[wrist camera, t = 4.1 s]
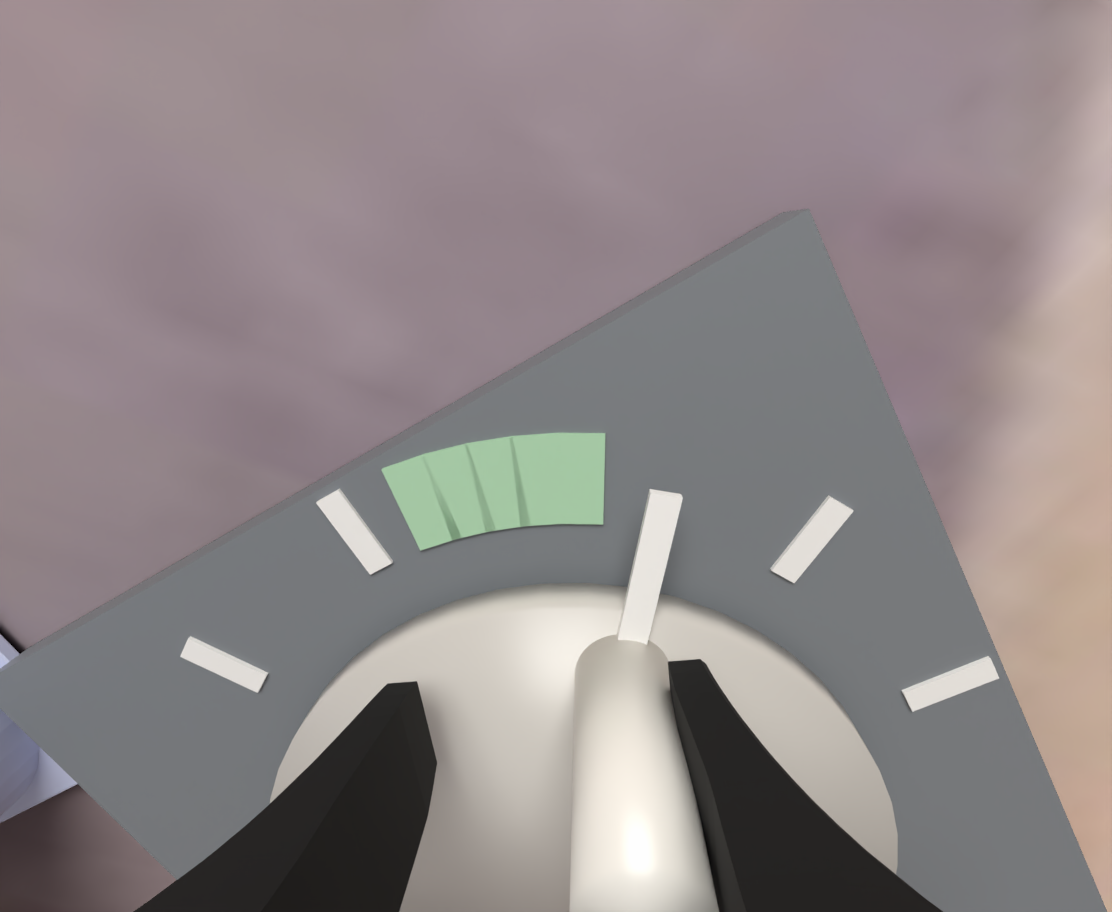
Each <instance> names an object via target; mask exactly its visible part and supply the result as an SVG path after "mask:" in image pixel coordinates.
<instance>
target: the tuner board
mask: <svg viewBox="0 0 1112 912" xmlns="http://www.w3.org/2000/svg"><path fill="white" fill-rule="evenodd" d="M649 489H653V490H659V491H666V492H672V493H678V494H681V495H682V497H683V500H682V504H681V508H680V512H679V516H678V520H677V524H676V528H675V532H674V536H673V541H672V545H671V549H670V553H669V557H668V561H667V565H666V569H665V573H664V577H663V582H662V586H661V590H660V594H665V595H670V596H674V597H678V598H681V599H684V600H687V601H690V602H693V603H695V604H698V605H701V606H704V607H707V608H710V609H713V610H716V611H718V612H721V613H723V614H725V615H727V616H729V617H731V618H733V619H735V620H737V621H739V622H741V623H743V624H745V625H747V626H749V627H751V628H753V629H755V630H757V631H759V632H760V633H762V634H763V635H765V636H766V637H768V638H769V639H771V640H772V641H774V642H775V643H777V644H778V645H780V646H781V647H783V648H784V649H786V650H787V651H789V652H790V653H791V654H792V655H794V656H795V657H796V658H797V659H798V660H799V661H800V662H802V663H803V664H804V665H805V666H806V667H807V668H808V669H809V670H811V671H812V672H813V673H814V674H815V675H816V676H817V677H818V678H820V680H821V681H822V682H823V683H824V684H825V686H826V687H827V688H828V689H829V690H830V692H831V693H832V694H833V695H834V696H835V698H836V699H837V700H838V701H839V702H840V704H841V705H842V706H843V707H844V709H845V711H846V713H847V714H848V716H849V718H850V719H851V721H852V723H853V724H854V726H855V728H856V729H857V731H858V733H859V734H860V736H861V738H862V740H863V741H864V743H865V745H866V747H867V749H868V750H869V752H870V754H871V756H872V758H873V760H874V761H875V763H876V765H877V767H878V769H879V770H880V773H881V775H882V778H883V781H884V783H885V786H886V789H887V791H888V794H889V796H890V799H891V802H892V806H893V812H894V817H895V823H896V828H897V833H898V866H897V871H896V875H897V876H898V877H900V878H901V879H902V880H903V881H905V882H906V883H907V884H908V885H909V886H911V887H912V888H913V889H914V890H916V891H917V892H918V893H919V894H920V895H922V896H923V897H924V898H926V899H927V900H928V901H930V902H931V903H932V904H934V905H935V906H936V907H938V908H939V909H940V910H942V911H943V912H1107V910H1106V908H1105V905H1104V903H1103V901H1102V898H1101V896H1100V894H1099V891H1098V889H1097V887H1096V884H1095V882H1094V879H1093V877H1092V875H1091V872H1090V870H1089V868H1088V865H1087V863H1086V861H1085V858H1084V856H1083V854H1082V851H1081V849H1080V846H1079V844H1078V842H1077V839H1076V837H1075V835H1074V832H1073V830H1072V828H1071V825H1070V823H1069V821H1068V818H1067V816H1066V813H1065V811H1064V809H1063V806H1062V804H1061V802H1060V799H1059V797H1058V795H1057V792H1056V790H1055V788H1054V785H1053V783H1052V780H1051V778H1050V776H1049V773H1048V771H1047V769H1046V766H1045V764H1044V762H1043V759H1042V757H1041V755H1040V752H1039V750H1038V747H1037V745H1036V743H1035V740H1034V738H1033V736H1032V733H1031V731H1030V729H1029V726H1028V724H1027V722H1026V719H1025V717H1024V714H1023V712H1022V710H1021V707H1020V705H1019V703H1018V700H1017V698H1016V696H1015V693H1014V691H1013V689H1012V686H1011V684H1010V681H1009V679H1008V677H1007V674H1006V672H1005V670H1004V667H1003V665H1002V663H1001V660H1000V658H999V656H998V653H997V651H996V649H995V646H994V644H993V641H992V639H991V637H990V634H989V632H988V630H987V627H986V625H985V623H984V620H983V618H982V616H981V613H980V611H979V608H978V606H977V604H976V601H975V599H974V597H973V594H972V592H971V590H970V587H969V585H968V583H967V580H966V578H965V575H964V573H963V571H962V568H961V566H960V564H959V561H958V559H957V557H956V554H955V552H954V550H953V547H952V545H951V542H950V540H949V538H948V535H947V533H946V531H945V528H944V526H943V524H942V521H941V519H940V517H939V514H938V512H937V509H936V507H935V505H934V502H933V500H932V498H931V495H930V493H929V491H928V488H927V486H926V484H925V481H924V479H923V476H922V474H921V472H920V469H919V467H918V465H917V462H916V460H915V458H914V455H913V453H912V451H911V448H910V446H909V443H908V441H907V439H906V436H905V434H904V432H903V429H902V427H901V425H900V422H899V420H898V418H897V415H896V413H895V410H894V408H893V406H892V403H891V401H890V399H889V396H888V394H887V392H886V389H885V387H884V385H883V382H882V380H881V378H880V375H879V373H878V370H877V368H876V366H875V363H874V361H873V359H872V356H871V354H870V352H869V349H868V347H867V345H866V342H865V340H864V337H863V335H862V333H861V330H860V328H859V326H858V323H857V321H856V319H855V316H854V314H853V312H852V309H851V307H850V304H849V302H848V300H847V297H846V295H845V293H844V290H843V288H842V286H841V283H840V281H839V279H838V276H837V274H836V271H835V269H834V267H833V264H832V262H831V260H830V257H829V255H828V253H827V250H826V248H825V246H824V243H823V241H822V238H821V236H820V234H819V231H818V229H817V227H816V224H815V222H814V220H813V217H812V215H811V213H810V210H809V209H803V210H796V211H789V212H783V213H781V214H779V215H778V216H776V217H774V218H773V219H771V220H769V221H767V222H766V223H764V224H762V225H760V226H759V227H757V228H755V229H753V230H752V231H750V232H748V233H747V234H745V235H743V236H741V237H740V238H738V239H736V240H734V241H733V242H731V243H729V244H727V245H726V246H724V247H722V248H721V249H719V250H717V251H715V252H714V253H712V254H710V255H708V256H707V257H705V258H703V259H702V260H700V261H698V262H696V263H695V264H693V265H691V266H689V267H688V268H686V269H684V270H682V271H681V272H679V273H677V274H676V275H674V276H672V277H670V278H669V279H667V280H665V281H663V282H662V283H660V284H658V285H656V286H655V287H653V288H651V289H650V290H648V291H646V292H644V293H643V294H641V295H639V296H637V297H636V298H634V299H632V300H630V301H629V302H627V303H625V304H624V305H622V306H620V307H618V308H617V309H615V310H613V311H611V312H610V313H608V314H606V315H604V316H603V317H601V318H599V319H598V320H596V321H594V322H592V323H591V324H589V325H587V326H585V327H584V328H582V329H580V330H578V331H577V332H575V333H573V334H572V335H570V336H568V337H566V338H565V339H563V340H561V341H559V342H558V343H556V344H554V345H552V346H551V347H549V348H547V349H546V350H544V351H542V352H540V353H539V354H537V355H535V356H533V357H532V358H530V359H528V360H527V361H525V362H523V363H521V364H520V365H518V366H516V367H514V368H513V369H511V370H509V371H507V372H506V373H504V374H502V375H501V376H499V377H497V378H495V379H494V380H492V381H490V382H488V383H487V384H485V385H483V386H481V387H480V388H478V389H476V390H475V391H473V392H471V393H469V394H468V395H466V396H464V397H462V398H461V399H459V400H457V401H455V402H454V403H452V404H450V405H449V406H447V407H445V408H443V409H442V410H440V411H438V412H436V413H435V414H433V415H431V416H429V417H428V418H426V419H424V420H423V421H421V422H419V423H417V424H416V425H414V426H412V427H410V428H409V429H407V430H405V431H403V432H402V433H400V434H398V435H397V436H395V437H393V438H391V439H390V440H388V441H386V442H384V443H383V444H381V445H379V446H377V447H376V448H374V449H372V450H371V451H369V452H367V453H365V454H364V455H362V456H360V457H358V458H357V459H355V460H353V461H352V462H350V463H348V464H346V465H345V466H343V467H341V468H339V469H338V470H336V471H334V472H332V473H331V474H329V475H327V476H326V477H324V478H322V479H320V480H319V481H317V482H315V483H313V484H312V485H310V486H308V487H306V488H305V489H303V490H301V491H300V492H298V493H296V494H294V495H293V496H291V497H289V498H287V499H286V500H284V501H282V502H280V503H279V504H277V505H275V506H274V507H272V508H270V509H268V510H267V511H265V512H263V513H261V514H260V515H258V516H256V517H254V518H253V519H251V520H249V521H248V522H246V523H244V524H242V525H241V526H239V527H237V528H235V529H234V530H232V531H230V532H228V533H227V534H225V535H223V536H222V537H220V538H218V539H216V540H215V541H213V542H211V543H209V544H208V545H206V546H204V547H202V548H201V549H199V550H197V551H196V552H194V553H192V554H190V555H189V556H187V557H185V558H183V559H182V560H180V561H178V562H177V563H175V564H173V565H171V566H170V567H168V568H166V569H164V570H163V571H161V572H159V573H157V574H156V575H154V576H152V577H151V578H149V579H147V580H145V581H144V582H142V583H140V584H138V585H137V586H135V587H133V588H131V589H130V590H128V591H126V592H125V593H123V594H121V595H119V596H118V597H116V598H114V599H112V600H111V601H109V602H107V603H105V604H104V605H102V606H100V607H99V608H97V609H95V610H93V611H92V612H90V613H88V614H86V615H85V616H83V617H81V618H79V619H78V620H76V621H74V622H73V623H71V624H69V625H67V626H66V627H64V628H62V629H60V630H59V631H57V632H55V633H53V634H52V635H50V636H48V637H47V638H45V639H43V640H41V641H40V642H38V643H36V644H34V645H33V646H31V647H29V648H27V649H26V650H25V651H23V652H22V653H21V654H19V655H18V656H17V657H15V658H14V659H12V660H11V661H10V662H8V663H7V664H6V665H4V666H3V667H2V668H0V709H1V710H2V711H3V712H4V713H5V714H6V715H7V716H8V717H9V718H10V719H11V720H12V721H13V722H14V723H15V724H17V725H18V726H19V727H20V728H21V729H22V730H23V731H24V732H25V733H26V734H27V735H28V736H29V737H30V738H31V739H32V740H33V741H34V742H35V743H36V744H37V745H38V746H39V747H40V748H41V749H42V750H43V751H44V752H45V753H46V754H47V755H49V756H50V757H51V758H52V759H53V760H54V761H55V762H56V763H57V764H58V765H59V766H60V767H61V768H62V769H63V770H64V771H65V772H66V773H67V774H68V775H69V776H70V777H71V778H72V779H73V780H74V781H75V782H76V783H77V784H78V785H79V786H81V787H82V788H83V789H84V790H85V791H86V792H87V793H88V794H89V795H90V796H91V797H92V798H93V799H94V800H95V801H96V802H97V803H98V804H99V805H100V806H101V807H102V808H103V809H104V810H105V811H106V812H107V813H108V814H109V815H110V816H111V817H113V818H114V819H115V820H116V821H117V822H118V823H119V824H120V825H121V826H122V827H123V828H124V829H125V830H126V831H127V832H128V833H129V834H130V835H131V836H132V837H133V838H134V839H135V840H136V841H137V842H138V843H139V844H140V845H141V846H142V847H143V848H145V849H146V850H147V851H148V852H149V853H150V854H151V855H152V856H153V857H154V858H155V859H156V860H157V861H158V862H159V863H160V864H161V865H162V866H163V867H164V868H165V869H166V870H167V871H168V872H169V873H170V874H171V875H172V876H173V877H174V878H175V879H177V880H178V879H179V878H180V877H182V876H183V875H184V874H186V873H187V872H188V871H190V870H191V869H192V868H194V867H195V866H196V865H198V864H199V863H201V862H202V861H203V860H204V859H206V858H207V857H208V856H209V855H211V854H212V853H213V852H215V851H216V850H217V849H218V848H219V847H221V846H222V845H223V844H224V843H225V842H227V841H228V840H229V839H230V838H231V837H233V836H234V835H235V834H236V833H237V832H239V831H240V830H241V829H242V828H243V827H244V826H246V825H247V824H248V823H249V822H250V821H251V820H252V819H254V818H255V817H256V816H257V815H258V814H259V813H260V812H261V811H263V810H264V809H265V808H266V807H267V806H268V805H269V804H270V798H271V794H272V791H273V787H274V784H275V780H276V776H277V773H278V769H279V767H280V765H281V763H282V761H283V759H284V756H285V754H286V752H287V750H288V748H289V746H290V744H291V742H292V740H293V738H294V736H295V735H296V733H297V731H298V730H299V728H300V726H301V724H302V723H303V721H304V719H305V718H306V716H307V714H308V712H309V711H310V709H311V707H312V706H313V705H314V703H315V702H316V700H317V699H318V698H319V696H320V695H321V693H322V692H323V691H324V689H325V688H326V686H327V685H328V684H329V682H330V681H331V680H332V679H333V678H334V677H335V676H336V675H337V674H338V673H339V672H340V671H341V670H342V669H343V668H344V667H345V666H346V665H347V664H348V662H349V661H350V660H351V659H352V658H353V657H354V656H356V655H357V654H358V653H360V652H361V651H362V650H364V649H365V648H366V647H368V646H369V645H370V644H372V643H373V642H374V641H376V640H377V639H378V638H380V637H381V636H382V635H384V634H385V633H387V632H389V631H391V630H392V629H394V628H396V627H398V626H400V625H401V624H403V623H405V622H407V621H409V620H410V619H412V618H414V617H416V616H418V615H420V614H422V613H425V612H428V611H430V610H433V609H435V608H438V607H440V606H443V605H445V604H448V603H451V602H453V601H456V600H459V599H463V598H467V597H471V596H475V595H478V594H482V593H486V592H490V591H494V590H498V589H505V588H513V587H520V586H528V585H536V584H548V583H594V584H603V585H613V586H623V587H628V583H629V579H630V574H631V570H632V565H633V561H634V556H635V552H636V547H637V543H638V538H639V534H640V529H641V525H642V520H643V516H644V512H645V507H646V503H647V498H648V494H649Z"/></svg>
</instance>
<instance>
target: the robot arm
mask: <svg viewBox="0 0 1112 912" xmlns="http://www.w3.org/2000/svg"><path fill="white" fill-rule="evenodd" d="M19 654H20V653H19V652H18V651H17V650H16V649H15V648H14V647H13V646H12V645H11V644H10V643H9V642H8V641H7V640H6V639H5V638H4V637H3V636H2V635H1V634H0V668H2V667H3V666H4V665H6V664H7V663H8V662H10V661H11V660H12V659H14V658H15V657H17V656H18V655H19ZM668 671H669V682H670V692H671V697H672V703H673V708H674V713H675V719H676V724H677V730H678V733H679V737H680V741H681V744H682V748H683V752H684V755H685V759H686V763H687V767H688V770H689V774H690V778H691V782H692V786H693V790H694V794H695V797H696V801H697V806H698V810H699V814H700V819H701V823H702V828H703V833H704V838H705V843H706V848H707V853H708V858H709V863H710V868H711V873H712V878H713V883H714V888H715V893H716V898H717V903H718V908H719V912H943V911H942V910H940V909H939V908H938V907H936V906H935V905H934V904H932V903H931V902H930V901H928V900H927V899H926V898H924V897H923V896H922V895H920V894H919V893H918V892H917V891H916V890H914V889H913V888H912V887H911V886H909V885H908V884H907V883H906V882H905V881H903V880H902V879H901V878H900V877H898V876H897V875H896V874H895V873H894V872H892V871H891V870H890V869H889V868H887V867H886V866H885V865H884V864H883V863H881V862H880V861H879V860H878V859H876V858H875V857H874V856H873V855H872V854H870V853H869V852H868V851H867V850H866V849H864V848H863V847H862V846H861V845H860V844H859V843H858V842H857V841H856V840H854V839H853V838H852V837H851V836H850V835H849V834H848V833H847V832H846V831H845V830H843V829H842V828H841V827H840V826H839V825H838V824H837V823H836V822H835V821H834V820H833V819H832V818H831V817H830V816H829V815H828V814H827V813H826V812H825V811H823V810H822V809H821V808H820V807H819V806H818V805H817V804H816V803H815V802H814V801H813V800H812V799H811V798H810V797H809V796H808V795H807V794H806V793H805V791H804V790H803V789H802V788H801V787H800V786H799V785H798V784H797V783H796V782H795V781H794V780H793V779H792V778H791V777H790V775H789V774H788V773H787V772H786V771H785V770H784V769H783V768H782V766H781V765H780V764H779V763H778V762H777V761H776V760H775V759H774V757H773V756H772V755H771V754H770V753H769V751H768V750H767V749H766V748H765V747H764V746H763V744H762V743H761V742H760V741H759V739H758V738H757V737H756V736H755V734H754V733H753V732H752V730H751V729H750V728H749V727H748V725H747V724H746V723H745V722H744V720H743V719H742V718H741V716H740V715H739V714H738V712H737V711H736V710H735V708H734V707H733V705H732V704H731V703H730V701H729V700H728V698H727V697H726V695H725V694H724V692H723V691H722V689H721V688H720V686H719V685H718V683H717V682H716V680H715V678H714V677H713V675H712V673H711V672H710V670H709V668H708V666H707V664H706V663H705V662H703V661H702V660H701V659H694V660H681V661H668ZM436 767H437V760H436V756H435V752H434V748H433V744H432V739H431V735H430V731H429V727H428V723H427V719H426V715H425V711H424V707H423V703H422V699H421V695H420V691H419V687H418V683H417V681H413V682H400V683H387V684H386V685H385V686H384V687H383V688H382V689H381V690H380V691H379V693H378V694H377V695H376V696H375V697H374V698H373V699H372V700H371V701H370V702H369V703H368V704H367V705H366V706H365V707H364V709H363V710H362V711H361V712H360V713H359V714H358V715H357V716H356V717H355V718H354V719H353V720H352V722H351V723H350V724H349V725H348V726H347V727H346V728H345V729H344V730H343V731H342V732H341V733H340V734H339V735H338V736H337V737H336V739H335V740H334V741H333V742H332V743H331V744H330V745H329V746H328V747H327V748H326V749H325V750H324V751H323V752H322V753H321V754H320V755H319V756H318V757H317V758H316V759H315V761H314V762H313V763H312V764H311V765H309V766H308V767H307V768H306V769H305V770H304V771H303V772H302V773H301V774H300V775H299V776H298V777H297V778H296V779H295V780H294V781H293V782H292V783H291V784H290V785H289V786H288V787H287V788H286V789H285V790H284V791H283V792H282V793H281V794H280V795H278V796H277V797H276V798H275V799H274V800H273V801H272V802H271V803H270V804H269V805H268V806H267V807H266V808H265V809H264V810H263V811H261V812H260V813H259V814H258V815H257V816H256V817H255V818H254V819H252V820H251V821H250V822H249V823H248V824H247V825H246V826H244V827H243V828H242V829H241V830H240V831H239V832H237V833H236V834H235V835H234V836H233V837H231V838H230V839H229V840H228V841H227V842H225V843H224V844H223V845H222V846H221V847H219V848H218V849H217V850H216V851H215V852H213V853H212V854H211V855H209V856H208V857H207V858H206V859H204V860H203V861H202V862H201V863H199V864H198V865H196V866H195V867H194V868H192V869H191V870H190V871H188V872H187V873H186V874H184V875H183V876H182V877H180V878H179V879H178V880H176V881H175V882H174V883H172V884H171V885H170V886H168V887H167V888H166V889H164V890H163V891H162V892H160V893H159V894H158V895H156V896H155V897H154V898H152V899H151V900H150V901H148V902H147V903H145V904H144V905H143V906H141V907H140V908H138V909H137V910H135V911H134V912H399V911H400V908H401V904H402V901H403V898H404V894H405V891H406V888H407V885H408V881H409V878H410V875H411V871H412V868H413V865H414V862H415V858H416V855H417V852H418V848H419V845H420V841H421V838H422V835H423V831H424V828H425V824H426V821H427V817H428V813H429V807H430V802H431V797H432V791H433V785H434V779H435V773H436ZM75 785H77V783H76V782H75V781H74V780H73V779H72V778H71V777H70V776H69V775H68V774H67V773H66V772H65V771H64V770H63V769H62V768H61V767H60V766H59V765H58V764H57V763H56V762H55V761H54V760H53V759H52V758H51V757H50V756H49V755H47V754H46V753H45V752H44V751H43V750H42V749H41V748H40V747H39V746H38V745H37V744H36V743H35V742H34V741H33V740H32V739H31V738H30V737H29V736H28V735H27V734H26V733H25V732H24V731H23V730H22V729H21V728H20V727H19V726H18V725H17V724H15V723H14V722H13V721H12V720H11V719H10V718H9V717H8V716H7V715H6V714H5V713H4V712H3V711H2V710H1V709H0V823H1V822H3V821H5V820H7V819H9V818H11V817H13V816H15V815H17V814H19V813H21V812H23V811H25V810H27V809H29V808H31V807H33V806H35V805H37V804H39V803H41V802H43V801H45V800H47V799H49V798H51V797H53V796H55V795H57V794H59V793H61V792H63V791H65V790H67V789H69V788H71V787H73V786H75Z"/></svg>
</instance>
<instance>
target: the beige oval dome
mask: <svg viewBox="0 0 1112 912" xmlns="http://www.w3.org/2000/svg"><path fill="white" fill-rule="evenodd" d="M682 500H683V497H682V495H681V494H678V493H672V492H666V491H659V490H653V489H649V494H648V498H647V503H646V507H645V512H644V516H643V520H642V525H641V529H640V534H639V538H638V543H637V547H636V552H635V556H634V561H633V565H632V570H631V574H630V579H629V583H628V587H623V586H613V585H603V584H594V583H548V584H536V585H528V586H520V587H513V588H505V589H498V590H494V591H490V592H486V593H482V594H478V595H475V596H471V597H467V598H463V599H459V600H456V601H453V602H451V603H448V604H445V605H443V606H440V607H438V608H435V609H433V610H430V611H428V612H425V613H422V614H420V615H418V616H416V617H414V618H412V619H410V620H409V621H407V622H405V623H403V624H401V625H400V626H398V627H396V628H394V629H392V630H391V631H389V632H387V633H385V634H384V635H382V636H381V637H380V638H378V639H377V640H376V641H374V642H373V643H372V644H370V645H369V646H368V647H366V648H365V649H364V650H362V651H361V652H360V653H358V654H357V655H356V656H354V657H353V658H352V659H351V660H350V661H349V662H348V664H347V665H346V666H345V667H344V668H343V669H342V670H341V671H340V672H339V673H338V674H337V675H336V676H335V677H334V678H333V679H332V680H331V681H330V682H329V684H328V685H327V686H326V688H325V689H324V691H323V692H322V693H321V695H320V696H319V698H318V699H317V700H316V702H315V703H314V705H313V706H312V707H311V709H310V711H309V712H308V714H307V716H306V718H305V719H304V721H303V723H302V724H301V726H300V728H299V730H298V731H297V733H296V735H295V736H294V738H293V740H292V742H291V744H290V746H289V748H288V750H287V752H286V754H285V756H284V759H283V761H282V763H281V765H280V767H279V769H278V773H277V776H276V780H275V784H274V787H273V791H272V794H271V798H270V803H271V802H272V801H273V800H274V799H275V798H276V797H277V796H278V795H280V794H281V793H282V792H283V791H284V790H285V789H286V788H287V787H288V786H289V785H290V784H291V783H292V782H293V781H294V780H295V779H296V778H297V777H298V776H299V775H300V774H301V773H302V772H303V771H304V770H305V769H306V768H307V767H308V766H309V765H311V764H312V763H313V762H314V761H315V759H316V758H317V757H318V756H319V755H320V754H321V753H322V752H323V751H324V750H325V749H326V748H327V747H328V746H329V745H330V744H331V743H332V742H333V741H334V740H335V739H336V737H337V736H338V735H339V734H340V733H341V732H342V731H343V730H344V729H345V728H346V727H347V726H348V725H349V724H350V723H351V722H352V720H353V719H354V718H355V717H356V716H357V715H358V714H359V713H360V712H361V711H362V710H363V709H364V707H365V706H366V705H367V704H368V703H369V702H370V701H371V700H372V699H373V698H374V697H375V696H376V695H377V694H378V693H379V691H380V690H381V689H382V688H383V687H384V686H385V685H386V684H387V683H400V682H413V681H417V683H418V687H419V691H420V695H421V699H422V703H423V707H424V711H425V715H426V719H427V723H428V727H429V731H430V735H431V739H432V744H433V748H434V752H435V756H436V760H437V767H436V773H435V779H434V785H433V791H432V797H431V802H430V807H429V813H428V817H427V821H426V824H425V828H424V831H423V835H422V838H421V841H420V845H419V848H418V852H417V855H416V858H415V862H414V865H413V868H412V871H411V875H410V878H409V881H408V885H407V888H406V891H405V894H404V898H403V901H402V904H401V908H400V911H399V912H719V908H718V903H717V898H716V893H715V888H714V883H713V878H712V873H711V868H710V863H709V858H708V853H707V848H706V843H705V838H704V833H703V828H702V823H701V819H700V814H699V810H698V806H697V801H696V797H695V794H694V790H693V786H692V782H691V778H690V774H689V770H688V767H687V763H686V759H685V755H684V752H683V748H682V744H681V741H680V737H679V733H678V730H677V724H676V719H675V713H674V708H673V703H672V697H671V692H670V682H669V671H668V661H681V660H694V659H701V660H702V661H703V662H705V663H706V664H707V666H708V668H709V670H710V672H711V673H712V675H713V677H714V678H715V680H716V682H717V683H718V685H719V686H720V688H721V689H722V691H723V692H724V694H725V695H726V697H727V698H728V700H729V701H730V703H731V704H732V705H733V707H734V708H735V710H736V711H737V712H738V714H739V715H740V716H741V718H742V719H743V720H744V722H745V723H746V724H747V725H748V727H749V728H750V729H751V730H752V732H753V733H754V734H755V736H756V737H757V738H758V739H759V741H760V742H761V743H762V744H763V746H764V747H765V748H766V749H767V750H768V751H769V753H770V754H771V755H772V756H773V757H774V759H775V760H776V761H777V762H778V763H779V764H780V765H781V766H782V768H783V769H784V770H785V771H786V772H787V773H788V774H789V775H790V777H791V778H792V779H793V780H794V781H795V782H796V783H797V784H798V785H799V786H800V787H801V788H802V789H803V790H804V791H805V793H806V794H807V795H808V796H809V797H810V798H811V799H812V800H813V801H814V802H815V803H816V804H817V805H818V806H819V807H820V808H821V809H822V810H823V811H825V812H826V813H827V814H828V815H829V816H830V817H831V818H832V819H833V820H834V821H835V822H836V823H837V824H838V825H839V826H840V827H841V828H842V829H843V830H845V831H846V832H847V833H848V834H849V835H850V836H851V837H852V838H853V839H854V840H856V841H857V842H858V843H859V844H860V845H861V846H862V847H863V848H864V849H866V850H867V851H868V852H869V853H870V854H872V855H873V856H874V857H875V858H876V859H878V860H879V861H880V862H881V863H883V864H884V865H885V866H886V867H887V868H889V869H890V870H891V871H892V872H894V873H895V874H896V871H897V866H898V833H897V828H896V823H895V817H894V812H893V806H892V802H891V799H890V796H889V794H888V791H887V789H886V786H885V783H884V781H883V778H882V775H881V773H880V770H879V769H878V767H877V765H876V763H875V761H874V760H873V758H872V756H871V754H870V752H869V750H868V749H867V747H866V745H865V743H864V741H863V740H862V738H861V736H860V734H859V733H858V731H857V729H856V728H855V726H854V724H853V723H852V721H851V719H850V718H849V716H848V714H847V713H846V711H845V709H844V707H843V706H842V705H841V704H840V702H839V701H838V700H837V699H836V698H835V696H834V695H833V694H832V693H831V692H830V690H829V689H828V688H827V687H826V686H825V684H824V683H823V682H822V681H821V680H820V678H818V677H817V676H816V675H815V674H814V673H813V672H812V671H811V670H809V669H808V668H807V667H806V666H805V665H804V664H803V663H802V662H800V661H799V660H798V659H797V658H796V657H795V656H794V655H792V654H791V653H790V652H789V651H787V650H786V649H784V648H783V647H781V646H780V645H778V644H777V643H775V642H774V641H772V640H771V639H769V638H768V637H766V636H765V635H763V634H762V633H760V632H759V631H757V630H755V629H753V628H751V627H749V626H747V625H745V624H743V623H741V622H739V621H737V620H735V619H733V618H731V617H729V616H727V615H725V614H723V613H721V612H718V611H716V610H713V609H710V608H707V607H704V606H701V605H698V604H695V603H693V602H690V601H687V600H684V599H681V598H678V597H674V596H670V595H665V594H660V590H661V586H662V582H663V577H664V573H665V569H666V565H667V561H668V557H669V553H670V549H671V545H672V541H673V536H674V532H675V528H676V524H677V520H678V516H679V512H680V508H681V504H682Z"/></svg>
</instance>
